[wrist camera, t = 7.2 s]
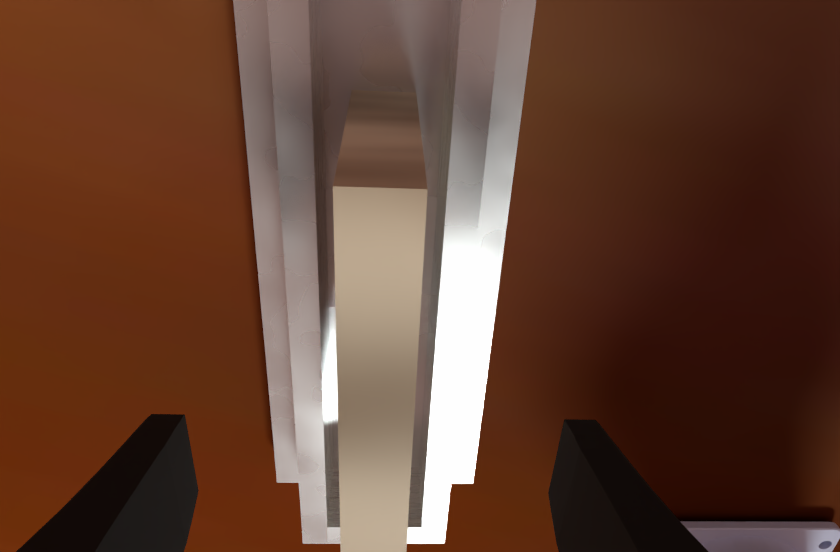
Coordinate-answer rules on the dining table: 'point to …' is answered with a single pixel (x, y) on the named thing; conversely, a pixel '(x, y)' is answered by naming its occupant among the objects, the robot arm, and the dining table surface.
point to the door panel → (378, 313)
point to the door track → (444, 232)
